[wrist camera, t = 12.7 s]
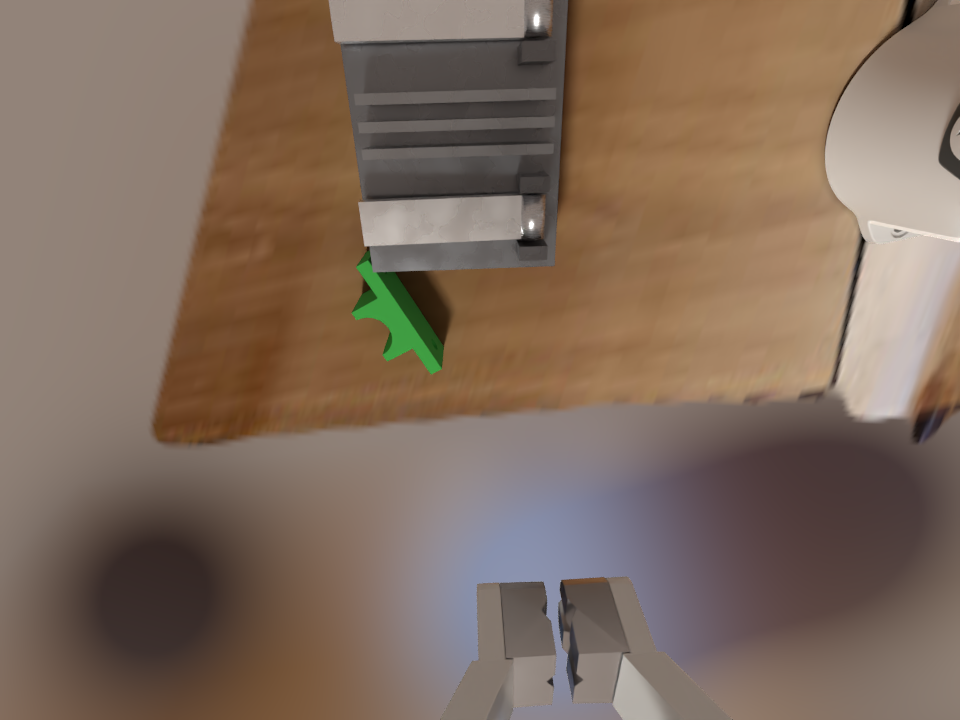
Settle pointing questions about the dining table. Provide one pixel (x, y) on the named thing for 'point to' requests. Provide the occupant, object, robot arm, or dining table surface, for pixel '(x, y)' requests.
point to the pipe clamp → (397, 316)
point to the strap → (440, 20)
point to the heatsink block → (460, 134)
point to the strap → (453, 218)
